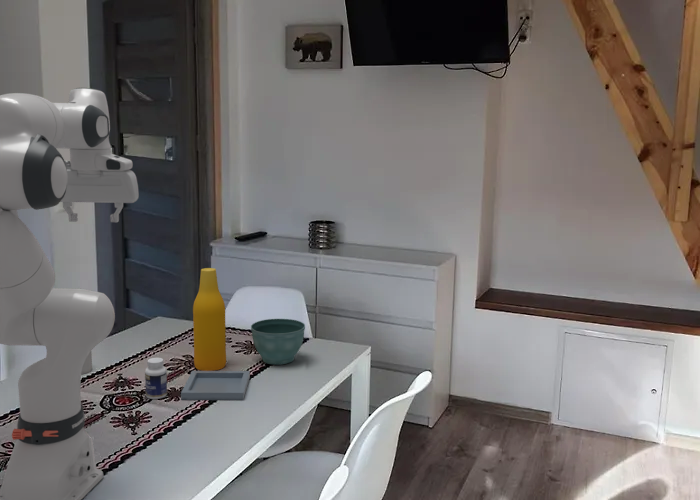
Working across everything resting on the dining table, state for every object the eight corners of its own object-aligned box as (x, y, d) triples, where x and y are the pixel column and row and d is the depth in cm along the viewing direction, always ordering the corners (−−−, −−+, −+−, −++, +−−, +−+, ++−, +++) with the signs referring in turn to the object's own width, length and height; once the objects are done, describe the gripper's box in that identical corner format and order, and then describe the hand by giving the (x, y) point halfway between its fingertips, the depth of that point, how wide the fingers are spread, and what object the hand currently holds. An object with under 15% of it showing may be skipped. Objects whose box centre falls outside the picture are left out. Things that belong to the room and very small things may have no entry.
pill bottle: (141, 398, 184) (140, 362, 183) (153, 390, 189) (151, 355, 188) (160, 400, 183) (158, 364, 181) (171, 393, 188) (169, 357, 186)
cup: (82, 376, 199) (80, 346, 197) (51, 373, 201) (49, 342, 199) (97, 368, 205) (95, 338, 204) (66, 364, 208) (65, 335, 206)
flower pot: (241, 357, 216) (240, 323, 214) (286, 348, 226) (286, 315, 224) (268, 373, 204) (268, 336, 202) (315, 362, 213) (315, 327, 211)
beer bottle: (231, 362, 212) (230, 267, 207) (218, 373, 203) (216, 273, 198) (202, 359, 214) (200, 265, 209) (188, 369, 205) (186, 271, 200)
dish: (243, 400, 184) (243, 392, 184) (181, 400, 184) (181, 392, 183) (249, 377, 200) (249, 371, 200) (192, 377, 199) (192, 370, 199)
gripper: (39, 161, 158) (43, 223, 161) (132, 163, 159) (134, 224, 162) (49, 159, 164) (53, 219, 167) (139, 161, 165) (141, 220, 168)
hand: (94, 221), depth 164 cm, fingers open, 8 cm apart
